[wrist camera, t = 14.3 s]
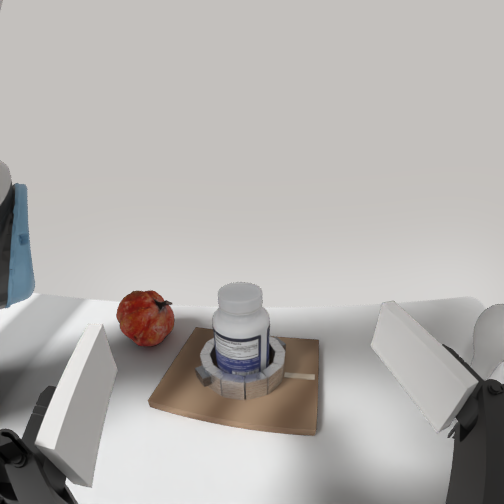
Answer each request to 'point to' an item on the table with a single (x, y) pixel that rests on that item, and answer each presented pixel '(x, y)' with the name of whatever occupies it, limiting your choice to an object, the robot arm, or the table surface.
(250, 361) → the pill bottle
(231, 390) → the ring
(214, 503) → the table surface
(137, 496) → the table surface
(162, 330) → the pomegranate
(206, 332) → the base plate
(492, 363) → the lightbulb
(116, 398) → the table surface
